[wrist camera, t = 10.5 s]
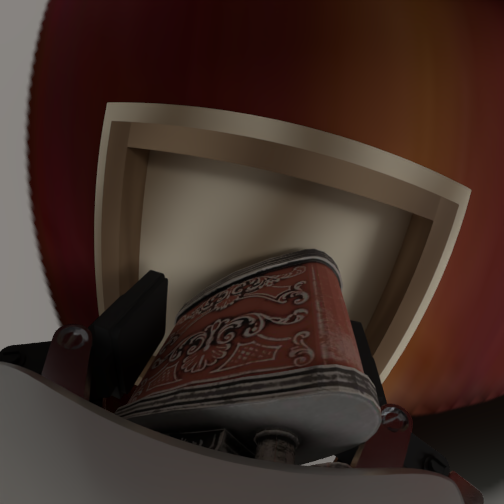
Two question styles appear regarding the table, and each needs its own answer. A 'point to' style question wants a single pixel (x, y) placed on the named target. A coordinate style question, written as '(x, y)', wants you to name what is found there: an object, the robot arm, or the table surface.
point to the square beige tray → (268, 212)
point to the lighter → (263, 367)
